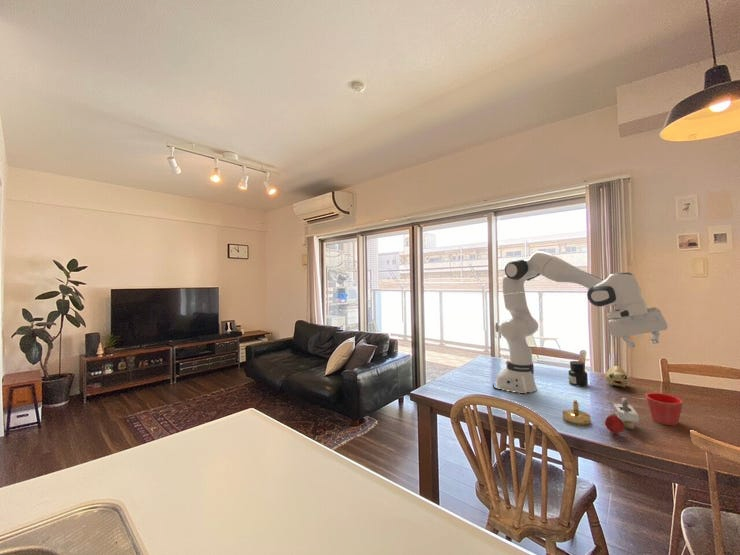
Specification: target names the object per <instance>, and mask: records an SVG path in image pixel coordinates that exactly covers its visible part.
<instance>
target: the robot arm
mask: <svg viewBox="0 0 740 555" xmlns="http://www.w3.org/2000/svg"><path fill="white" fill-rule="evenodd" d="M504 274H505V275H504V277H502V294H503V300H504V306H505V309H506V310H507V311H508V312H509V313H510V315H511V318H510V319H507V320H506V321H504V322H502V323H501V324H500V326H499V331H500V334H501V336H502V337H503V339H504V338H505V340H506V343H507V345H508V349H509V360H508V359H507V360H506V361H505V364H506V368H505V369H503V370H501V371H500V372H498V374H497V376H496V380H497V382H495V383H496V387H498V388H500V389H504V390H509V391H515V392H519V393H518V394H520V393H525V394H528V393H527V392H529V393H534V392H536V391H538V387H537V385H536V380H535V377H534V376H535V373H534V372H535V367H534V363H533V353H532V352H533V351H532V348H531V347H530V346H529V345H528V343H527V339H526V337H530V336H532V335H534V334H536V332H538V331H539V323H538V321H537V320H536V319H535V318H534V317H533V315H532V314H531V311H530V310H529V306H528V303H527V297H526V292H525V286H524V284H525V282H526V281H530V280H533V279H535V278H537V277H539V276H540V275H541V276H542V277H544V278H546V279H548V280H549V281H553V282H557V283H572V284H577V285H580V286H583V287H584V288H587V289H588V291H587V292H586V293H587V294H586V298H587V299H588V301H589V303H590V304H591V305H593V306H595V307H601V308H603V307H604V308H605V307H609V306H616V307H617V308H615V309H614V310H612V311H610V312H608V313H606V317H607V319H609V320H608V321H607V322H608V323H607V324H608V329H609V332H610V335H611V336H612V337H614V338H622V340H623V341H624V342H625V343H626V344H627V347H628V348H635V347H636V345H635V342H632V341H631V340H630V339H631V338H630V336H636V335H641V334H647V333H648V334H649V333H651V335H652V338H650V341H651V343H652V344H654V345H655V344H659V343H660V340H659V338H660V337H659V336H660V335H661V334H660V331H667V330H668V326H669V325H668V324H667V321H666V319H665V316H663V314H662V311H661V309H659V308H657V307H651V308H650V307H649V308H647V306H646V303H645V300H644V298H643V296H642V289H641V287H640V284H639V282H638V279H637V278H636V276H635V275H634V274H633V273H631V272H626V271H625V272H612V273H610V274H609V276H608V277H607V278H605V279H602V278H600V277H597V276H596V275H593V274H591V273H589V272H587V271H584V270H582V269H580V268H579V267H576V266H575V265H572V264H571V263H569V262H567V261H566V260H564V259H562V258H560V257H558V256H556V255H553V254H551V253H548V252H545V251H540V250H537V251H536V252H533V253H532V254H531V255H530V257H529V258H522V259H514V260H511V261H508V262H507V263H506V264H505V267H504ZM509 391H508V392H509ZM533 391H534V392H533Z"/></svg>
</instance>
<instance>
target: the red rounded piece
mask: <svg viewBox="0 0 740 555" xmlns="http://www.w3.org/2000/svg"><path fill="white" fill-rule="evenodd" d="M604 424H605V428H606V429H607V430H609V432H611V433H613V434H614V435H618V434H620V433H622V432H624V430H625V428H624V423H623V422H622V420H621V419H620V418H618V417H617V415H616V414H615V413H612V414H611V415H609V416H607V417H606V418H605V421H604Z"/></svg>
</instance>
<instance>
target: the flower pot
mask: <svg viewBox="0 0 740 555" xmlns="http://www.w3.org/2000/svg"><path fill="white" fill-rule="evenodd" d="M645 398H646V402H647V406H648V409H649V412H650V415H651V418H652V420H653V421H654V422H656V423H659V424H661V425H662V424H663V425H666V426H677V425H678V424H679V422H680V417H681V413H682V408H683V403H684V402H683V400H682V399H680V398H679V397H676V396H674V395H672V394H671V395H670V394H666V393H659V392H649V393H646V394H645Z"/></svg>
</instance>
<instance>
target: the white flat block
mask: <svg viewBox="0 0 740 555" xmlns="http://www.w3.org/2000/svg"><path fill="white" fill-rule="evenodd" d="M612 406H613V408H612V409H613V412H614V414H616V416H617V417H618V418H620V419H621V420H624V421H632V422H634V423H640V422H639V413H637V411H636V410H635V408H634V407H633V406H632V405H630V404H628V411H625V410H622V403H621V404H620V403H613V405H612Z"/></svg>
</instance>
